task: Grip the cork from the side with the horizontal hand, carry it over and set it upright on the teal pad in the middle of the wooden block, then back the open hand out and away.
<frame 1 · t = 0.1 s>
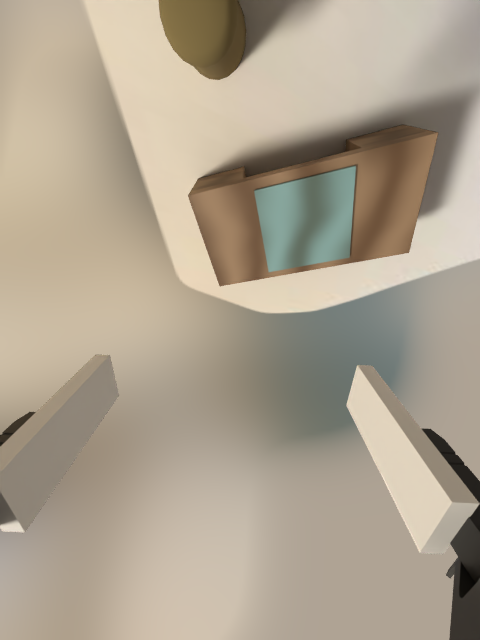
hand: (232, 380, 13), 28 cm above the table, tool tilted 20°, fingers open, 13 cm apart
wooden block: (297, 205, 33), on the table
cork: (214, 35, 23), on the table
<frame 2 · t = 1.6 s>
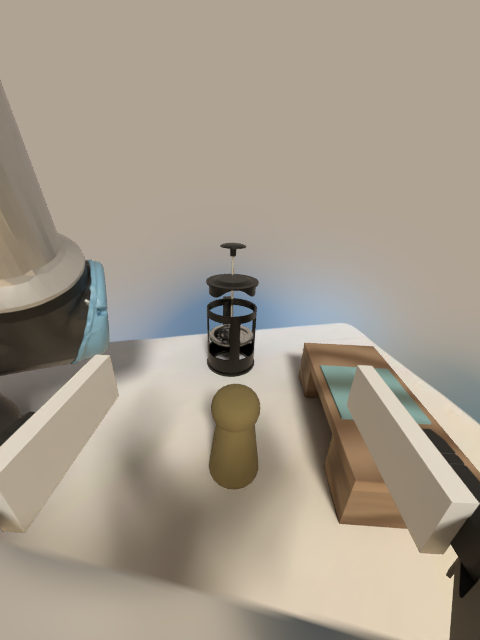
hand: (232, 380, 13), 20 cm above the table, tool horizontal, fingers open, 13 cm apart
wooden block: (355, 429, 36), on the table
french press: (230, 361, 50), on the table
cork: (233, 464, 30), on the table
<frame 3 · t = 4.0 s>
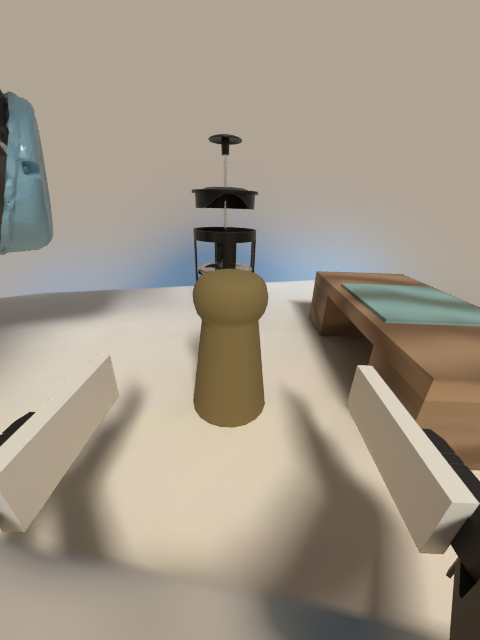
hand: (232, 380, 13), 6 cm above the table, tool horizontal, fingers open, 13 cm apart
wooden block: (390, 363, 27), on the table
french press: (224, 306, 41), on the table
cork: (229, 400, 21), on the table
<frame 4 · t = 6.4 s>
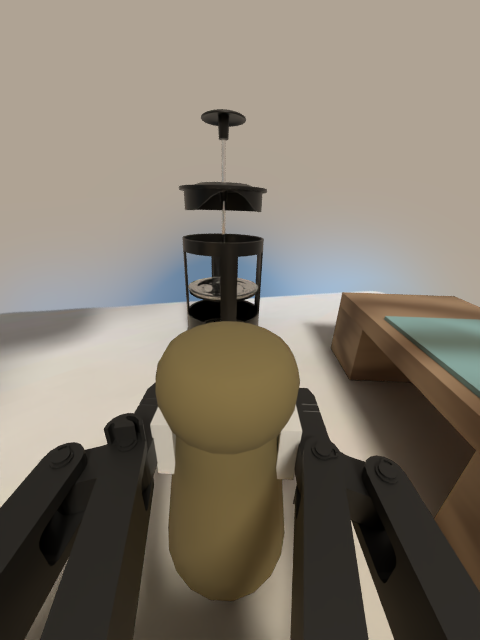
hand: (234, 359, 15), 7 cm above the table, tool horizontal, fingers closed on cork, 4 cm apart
wooden block: (458, 433, 19), on the table
french press: (223, 332, 33), on the table
cork: (226, 521, 13), on the table, touching gripper
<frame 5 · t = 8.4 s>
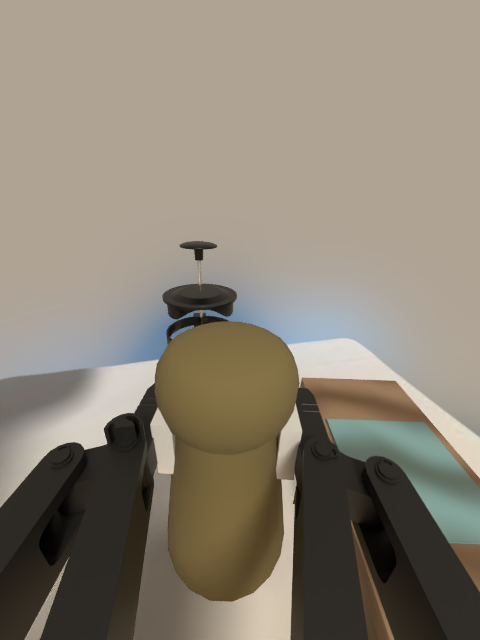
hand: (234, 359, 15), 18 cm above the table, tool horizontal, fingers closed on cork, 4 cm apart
wooden block: (380, 517, 24), on the table
french press: (204, 398, 38), on the table
cork: (226, 521, 13), point 11 cm above the table, touching gripper
when the fingers open (15 cm above the table, at t = 10.4 s): cork drops 1 cm, resting on wooden block.
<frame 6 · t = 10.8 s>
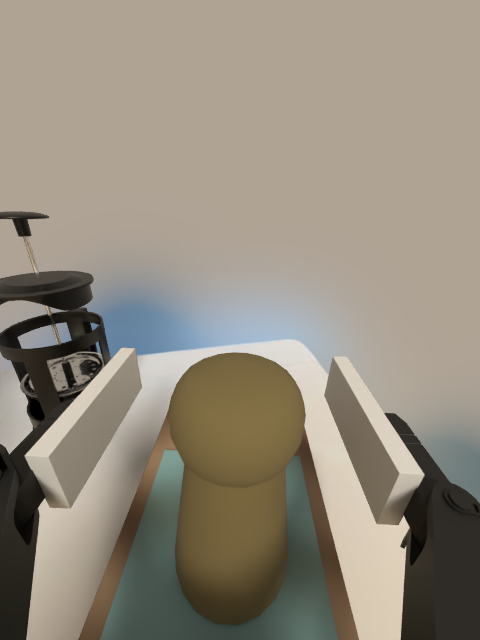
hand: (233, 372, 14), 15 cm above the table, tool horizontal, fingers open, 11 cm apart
wooden block: (226, 593, 17), on the table
french press: (83, 412, 31), on the table
cork: (231, 542, 14), point 7 cm above the table, touching wooden block
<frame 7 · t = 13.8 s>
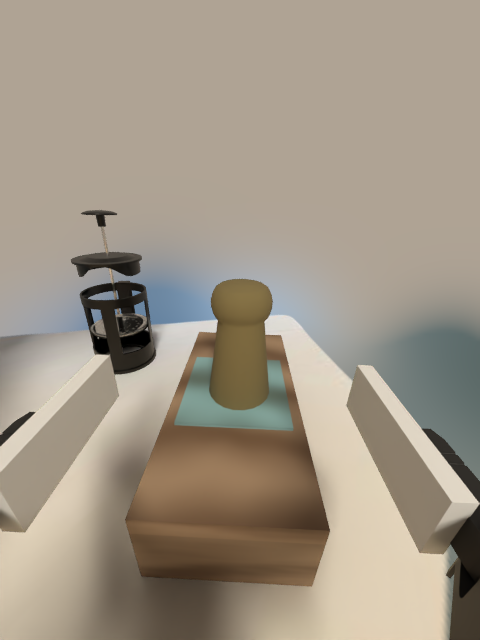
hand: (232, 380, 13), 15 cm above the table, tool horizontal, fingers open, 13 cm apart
wooden block: (234, 436, 28), on the table
french press: (128, 357, 43), on the table
cork: (239, 389, 25), point 7 cm above the table, touching wooden block
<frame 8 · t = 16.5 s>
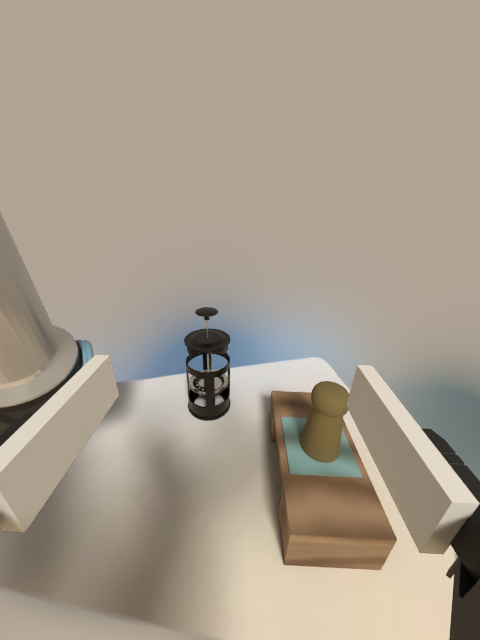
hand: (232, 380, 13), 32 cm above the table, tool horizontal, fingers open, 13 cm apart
wooden block: (310, 473, 42), on the table
french press: (209, 403, 56), on the table
cork: (319, 445, 38), point 7 cm above the table, touching wooden block
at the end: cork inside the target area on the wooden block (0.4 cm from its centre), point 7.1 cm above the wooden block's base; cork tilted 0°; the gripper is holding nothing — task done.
